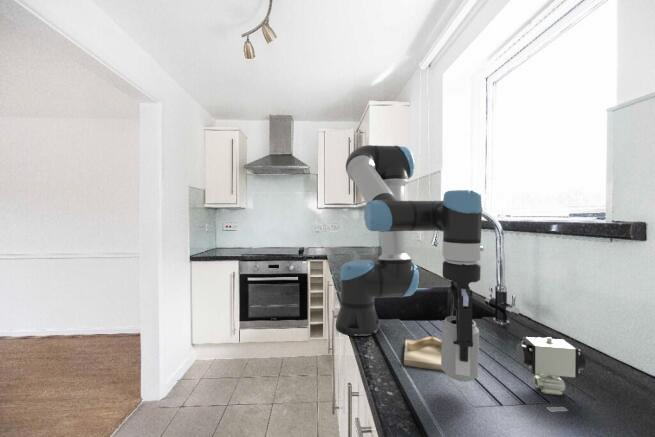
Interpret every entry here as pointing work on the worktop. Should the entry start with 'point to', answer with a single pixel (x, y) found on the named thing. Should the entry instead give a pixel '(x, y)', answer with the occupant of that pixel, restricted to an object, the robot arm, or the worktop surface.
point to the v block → (423, 353)
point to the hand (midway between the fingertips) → (459, 364)
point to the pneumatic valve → (550, 362)
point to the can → (450, 350)
